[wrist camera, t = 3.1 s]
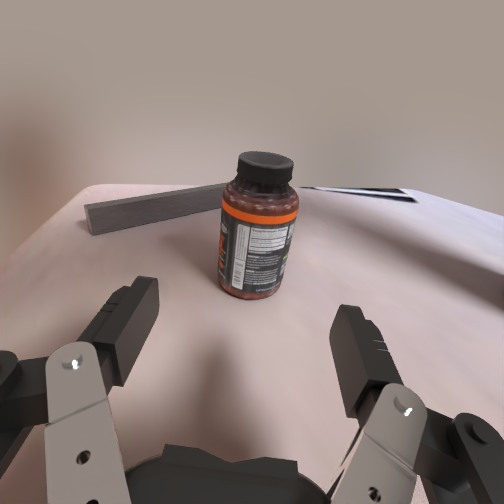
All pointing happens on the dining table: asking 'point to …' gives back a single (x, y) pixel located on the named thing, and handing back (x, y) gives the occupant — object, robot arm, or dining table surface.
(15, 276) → the dining table surface
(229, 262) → the supplement bottle
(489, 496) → the robot arm
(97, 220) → the rail
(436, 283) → the dining table surface
